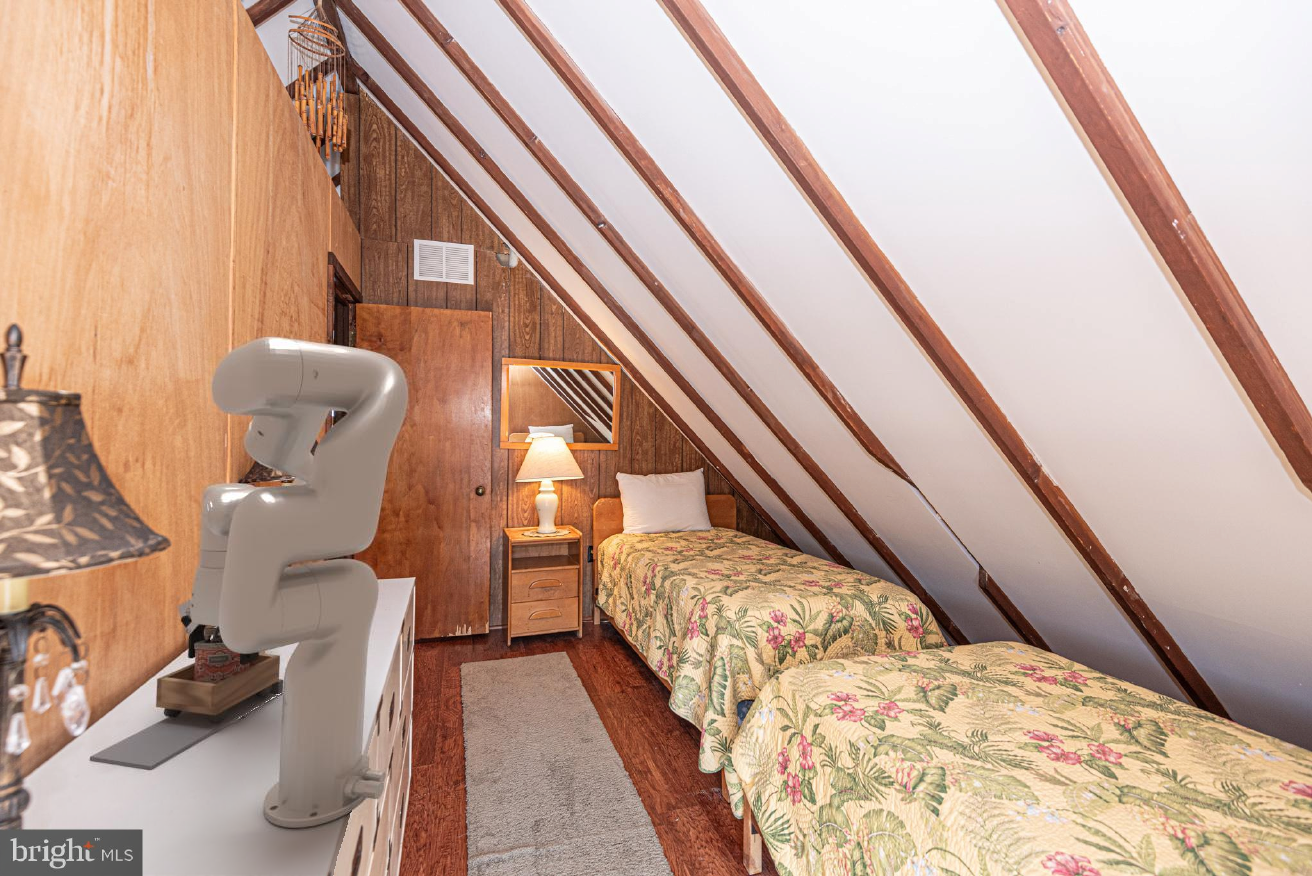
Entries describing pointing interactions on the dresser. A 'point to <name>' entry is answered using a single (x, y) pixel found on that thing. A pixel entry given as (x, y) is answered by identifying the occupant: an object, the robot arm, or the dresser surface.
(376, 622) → the dresser surface
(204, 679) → the lighter
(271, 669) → the cart
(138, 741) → the track
